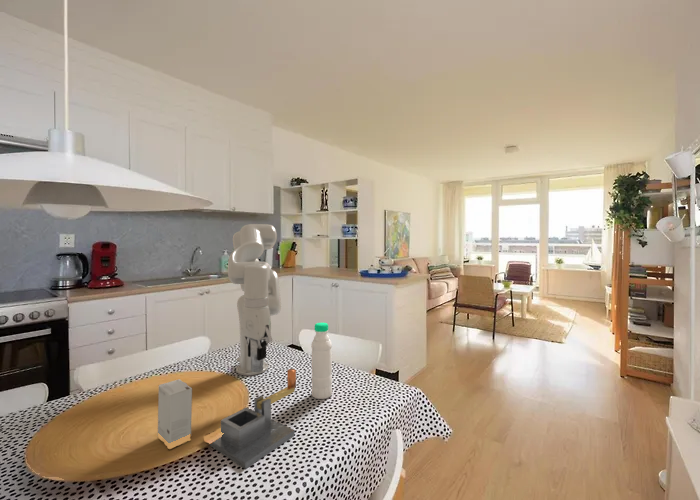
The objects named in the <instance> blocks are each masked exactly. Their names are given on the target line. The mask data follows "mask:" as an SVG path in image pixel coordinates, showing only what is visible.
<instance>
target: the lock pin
mask: <svg viewBox="0 0 700 500" xmlns="http://www.w3.org/2000/svg"><path fill="white" fill-rule="evenodd" d="M286 377H287V380H286V381H287V387H285V388H282V389H281V390H279V391H277V392H274V393H273V394H271V395H269V396H267V397H265V398H263V400H261V401H259V402H257V408H258V409H260V410H261V409H262V402H263V401H265V400H267V399H271V405H272V404H274V403H277V402H278V401H280V400H281V399H283V398H286V397H288V396H289V395H291V394H292V393H295V388H296V387H297V369H296V368H289V369H288V370H287V376H286Z"/></svg>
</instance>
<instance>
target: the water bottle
mask: <svg viewBox="0 0 700 500" xmlns="http://www.w3.org/2000/svg"><path fill="white" fill-rule="evenodd" d="M328 331H329V324H328V323H327V322H316V323H314V332H315V335H314V336H313V339H312V341H311V344H310V345H311V373H312V374H311V395H312V397H313V398H314V399H317V400H325V399H328V398H330V397H331V396H332V395H333V386H332V383H333V376H332V373H333V372H332V369H333V366H332V365H333V358H332V355H333V354H332V352H333V351H332V347H333V346H332V345H333V344H332V340H331V339H330V336H329V335H328Z"/></svg>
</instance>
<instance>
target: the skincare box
mask: <svg viewBox="0 0 700 500" xmlns="http://www.w3.org/2000/svg"><path fill="white" fill-rule="evenodd" d="M157 404H158V408H157V409H158V410H157V434H158V433H159V434H160V435H161V436H162V437H163V438H164V439H165V440H166V441H167V442H168V443H171V442H173V441H176V440H178V439H180V438H182V437H185V436H187V435H189V434H191V435H192V414H193V413H192V411H193V410H192V409H193V408H192V406H193V405H192V404H193V388H192V387H191V386H189V385H188V384H187V382H184V381H182V380H181V379H180V378H178V379H175V380H172V381H168V382H166V383H165V382H163V383H161V384H159V385H158V403H157Z"/></svg>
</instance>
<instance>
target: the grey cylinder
mask: <svg viewBox="0 0 700 500" xmlns="http://www.w3.org/2000/svg"><path fill="white" fill-rule="evenodd" d="M249 339H250V345H251V371H252V372H261V371H262V370H263V359H262V360H257V348H259V347H258V340H255V339H252V338H249ZM261 342H263V340H261Z"/></svg>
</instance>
